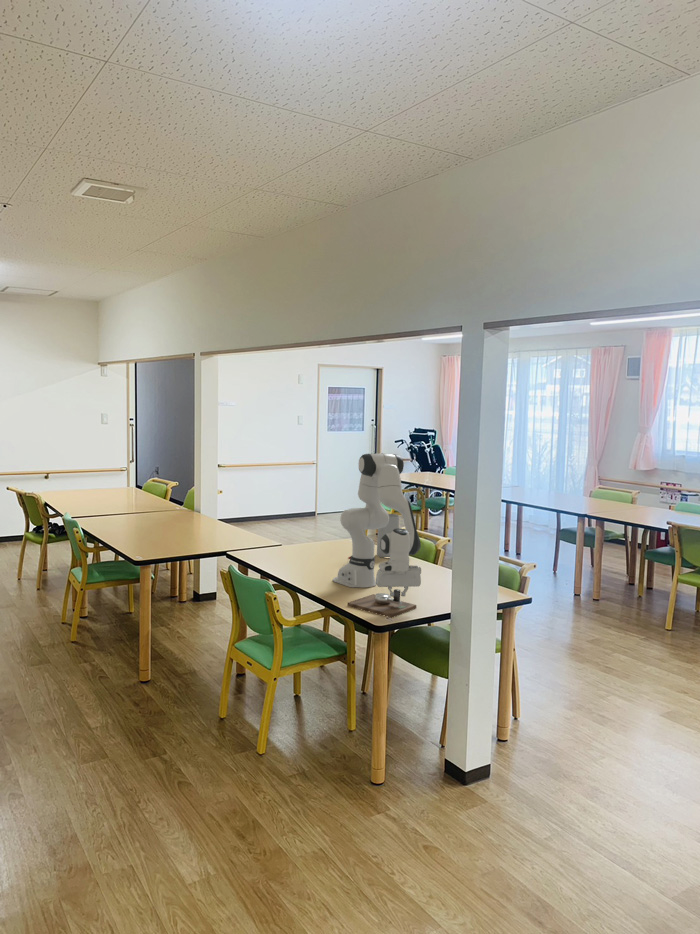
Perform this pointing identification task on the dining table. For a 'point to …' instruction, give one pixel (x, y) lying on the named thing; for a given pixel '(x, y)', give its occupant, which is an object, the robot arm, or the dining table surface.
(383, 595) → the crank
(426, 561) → the dining table surface
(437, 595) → the dining table surface
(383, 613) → the board
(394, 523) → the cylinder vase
